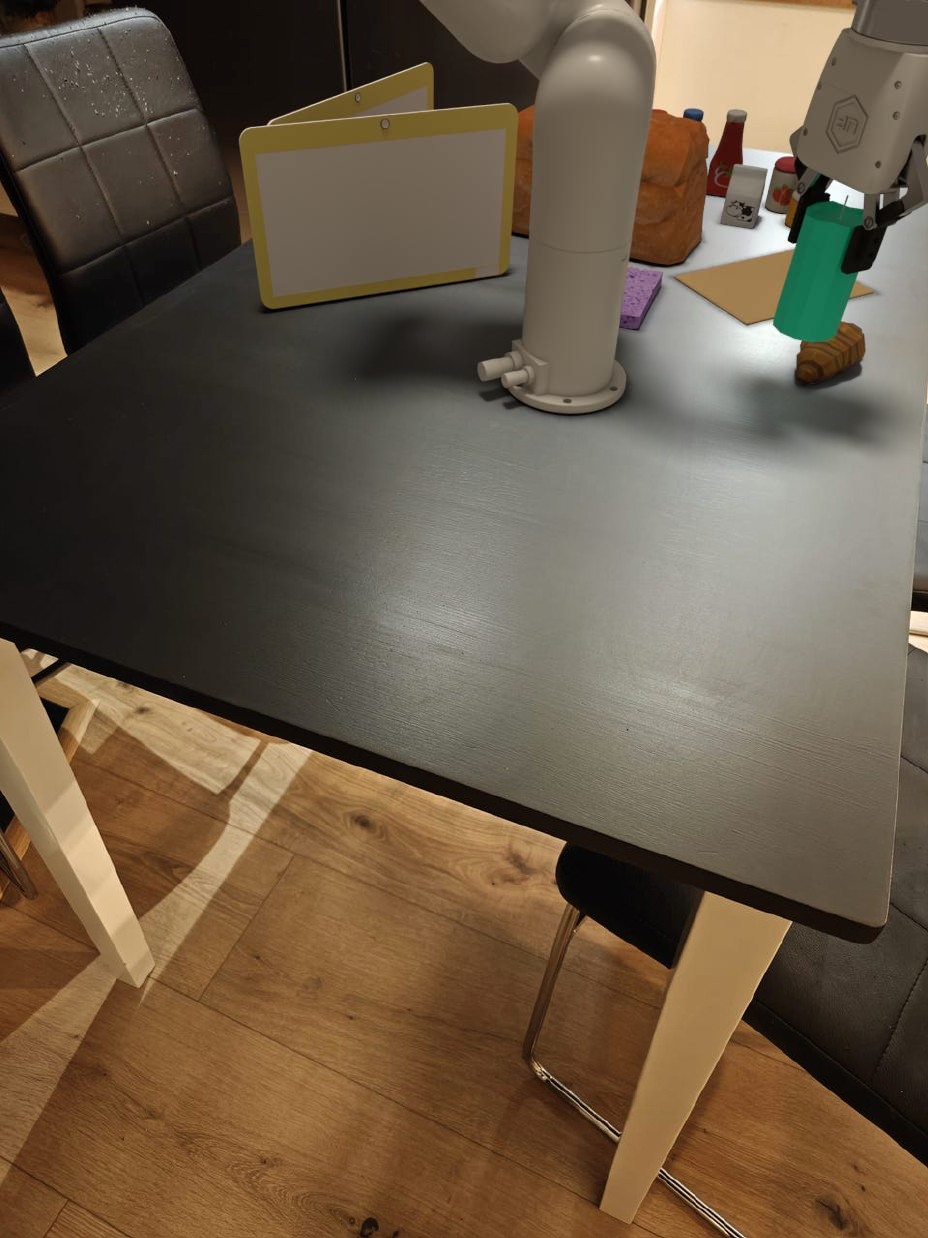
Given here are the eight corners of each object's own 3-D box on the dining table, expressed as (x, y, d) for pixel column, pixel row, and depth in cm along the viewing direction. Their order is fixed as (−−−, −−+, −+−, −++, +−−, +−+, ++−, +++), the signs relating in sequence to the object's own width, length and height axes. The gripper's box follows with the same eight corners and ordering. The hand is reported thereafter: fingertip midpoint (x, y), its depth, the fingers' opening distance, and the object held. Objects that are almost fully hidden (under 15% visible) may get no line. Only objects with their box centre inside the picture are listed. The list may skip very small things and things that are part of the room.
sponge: (661, 286, 111) (663, 271, 110) (637, 331, 103) (640, 315, 102) (605, 276, 113) (607, 261, 112) (578, 319, 105) (580, 304, 103)
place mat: (746, 325, 104) (747, 323, 104) (673, 277, 113) (674, 275, 113) (873, 292, 111) (874, 290, 111) (795, 249, 120) (796, 248, 120)
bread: (675, 272, 114) (699, 143, 104) (486, 230, 123) (490, 107, 112) (707, 234, 123) (732, 111, 112) (529, 197, 132) (536, 80, 121)
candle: (826, 348, 83) (874, 214, 74) (763, 329, 85) (803, 197, 76) (844, 323, 86) (891, 193, 78) (783, 306, 89) (823, 177, 80)
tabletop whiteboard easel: (410, 211, 127) (407, 51, 113) (547, 247, 119) (561, 79, 105) (244, 307, 105) (214, 123, 91) (398, 358, 98) (391, 165, 84)
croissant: (831, 400, 93) (847, 355, 89) (771, 378, 96) (783, 334, 92) (880, 351, 100) (896, 308, 97) (822, 332, 103) (835, 290, 100)
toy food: (623, 207, 130) (636, 114, 121) (645, 178, 138) (659, 90, 129) (813, 239, 123) (841, 143, 114) (825, 207, 131) (851, 115, 122)
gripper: (790, -4, 72) (733, 225, 85) (962, 51, 61) (867, 303, 74) (859, -9, 75) (794, 214, 87) (1035, 43, 64) (932, 288, 77)
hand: (828, 253), depth 81 cm, fingers closed on candle, 6 cm apart
